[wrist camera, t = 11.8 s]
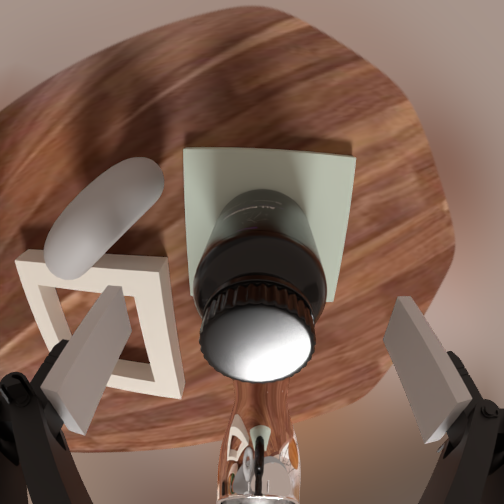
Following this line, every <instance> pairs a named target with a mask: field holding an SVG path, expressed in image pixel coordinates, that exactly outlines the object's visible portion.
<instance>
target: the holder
mask: <svg viewBox="0 0 504 504" xmlns="http://www.w3.org/2000/svg"><path fill="white" fill-rule="evenodd" d="M15 263H16V267H17V270H18V273H19V276H20V279H21V282H22V285H23V288H24V291H25V294H26V297H27V299H28V302H29V305H30V307H31V310H32V313H33V315H34V318H35V320H36V322H37V325H38V327H39V330H40V332H41V334H42V336H43V339H44V341H45V343H46V345H47V347H48V350H49V352H50V351H51V350H52V348H53V347H54V346H55V345H56V344H57V343H59V342H60V341H61V340H62V339H65V340H70V339H71V337H72V335H71V332H70V329H69V327H68V324H67V321H66V319H65V316H64V313H63V310H62V307H61V304H60V301H59V298H58V295H57V292H56V289H55V287H57V288H65V289H72V290H80V291H88V292H97V293H102V292H103V291H104V290H105V288H106V287H107V286H108V285H111V286H122V290H123V295H124V296H134V297H135V302H136V307H137V311H138V316H139V321H140V325H141V329H142V334H143V338H144V342H145V346H146V350H147V354H148V358H149V361H150V364H147V363H140V362H134V361H128V360H122V359H118V361H117V363H116V365H115V367H114V370H113V372H112V374H111V376H110V378H109V381H108V383H107V385H106V386H108V387H113V388H118V389H123V390H128V391H133V392H138V393H144V394H150V395H156V396H162V397H169V398H177V399H181V398H182V394H183V390H184V386H185V378H184V372H183V367H182V361H181V355H180V349H179V342H178V336H177V329H176V323H175V315H174V308H173V300H172V292H171V284H170V275H169V266H168V257H154V256H136V255H118V254H104V255H103V256H102V257H101V258H100V259H99V260H98V261H97V262H96V263H95V264H94V265H93V266H92V267H91V268H90V269H89V270H88V271H87V272H86V273H85V274H83V275H82V276H81V277H79V278H77V279H74V280H64V279H61V278H58V277H56V276H55V275H54V274H52V273H51V272H50V270H49V269H48V267H47V266H46V264H45V260H44V250H35V249H28V250H27V251H25V252H24V253H23V254H22V255H20V256H19V257H18V258H17V259H15Z"/></svg>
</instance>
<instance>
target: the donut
mask: <svg viewBox="0 0 504 504" xmlns="http://www.w3.org/2000/svg"><path fill="white" fill-rule="evenodd" d="M163 188H164V176H163V172H162V170H161V169H160V167H159V165H158V164H156V163H155V162H154V161H153V160H151V159H148V158H146V157H134V158H129V159H126V160H123V161H121V162H119V163H118V164H116V165H114V166H112V167H111V168H109V169H108V170H106V171H105V172H104V173H102V174H101V175H100V176H98V177H97V178H96V179H95V180H94V181H92V182H91V183H90V184H89V185H88V186H87V187H86V188H85V189H83V190H82V191H81V192H80V193H79V194H78V195H77V196H76V198H75V199H74V200H73V201H72V202H71V203H70V204H69V205H68V206H67V207H66V208H65V210H64V211H63V212H62V214H61V215H60V216H59V217H58V219H57V220H56V221H55V223H54V225H53V226H52V228H51V230H50V231H49V233H48V236H47V239H46V242H45V245H44V260H45V264H46V266H47V267H48V269H49V270H50V272H51V273H52V274H54V275H55V276H56V277H58V278H61V279H64V280H74V279H77V278H79V277H81V276H82V275H83V274H85V273H86V272H87V271H88V270H89V269H90V268H91V267H92V266H93V265H94V264H95V263H96V262H97V261H98V260H99V259H100V258H101V257H102V256H103V255H104V254H105V252H106V251H107V250H108V249H109V248H110V247H111V246H112V245H113V244H114V243H115V242H116V241H117V240H118V239H119V238H120V237H121V236H122V235H123V234H124V233H125V232H126V231H127V230H128V229H129V228H130V227H131V226H132V225H133V224H134V223H135V222H136V221H137V220H138V219H139V218H140V217H141V216H142V215H143V214H144V213H145V212H146V211H147V210H148V209H149V208H150V207H151V206H152V205H153V204H154V203H155V202H156V201H157V200H158V199H159V197H160V196H161V193H162V191H163Z"/></svg>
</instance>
